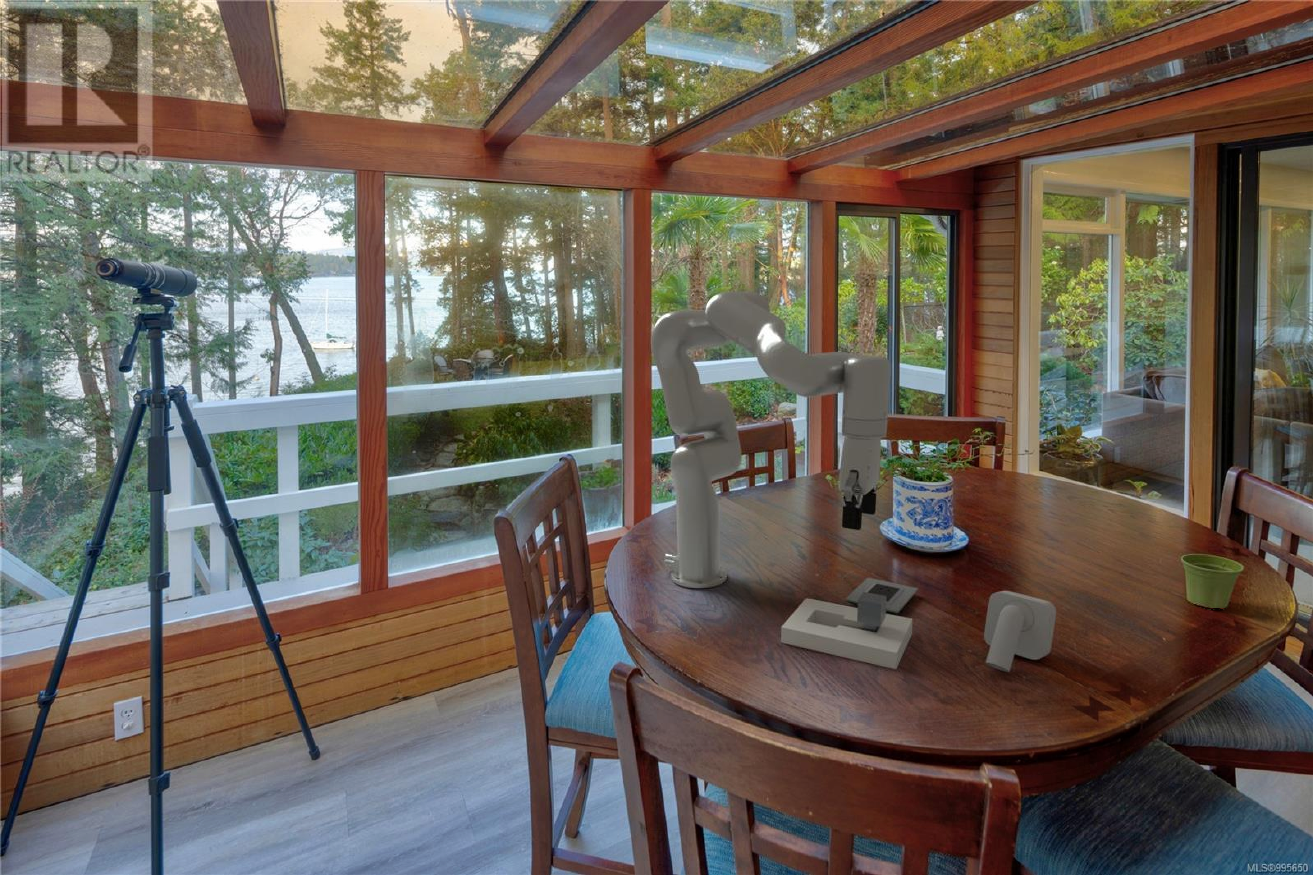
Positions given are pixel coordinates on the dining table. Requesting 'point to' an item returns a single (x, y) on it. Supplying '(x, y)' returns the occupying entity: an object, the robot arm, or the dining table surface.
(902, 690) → the dining table surface
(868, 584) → the electrical outlet
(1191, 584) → the plant pot
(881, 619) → the keyhole peg
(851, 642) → the keyhole plate
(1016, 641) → the wall hook
